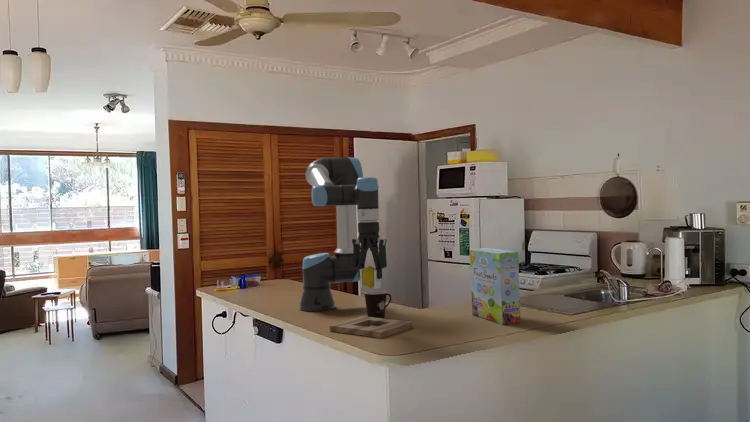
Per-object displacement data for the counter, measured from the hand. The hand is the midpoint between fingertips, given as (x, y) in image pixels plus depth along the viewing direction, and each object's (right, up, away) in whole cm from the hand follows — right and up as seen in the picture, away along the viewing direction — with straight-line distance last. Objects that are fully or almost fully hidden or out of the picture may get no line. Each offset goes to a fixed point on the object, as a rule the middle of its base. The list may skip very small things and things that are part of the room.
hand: (370, 287), depth 198 cm
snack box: (+46, -13, +11) cm, 49 cm away
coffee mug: (+4, -15, +19) cm, 25 cm away
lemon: (0, -1, 0) cm, 1 cm away
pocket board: (0, -15, 0) cm, 15 cm away
